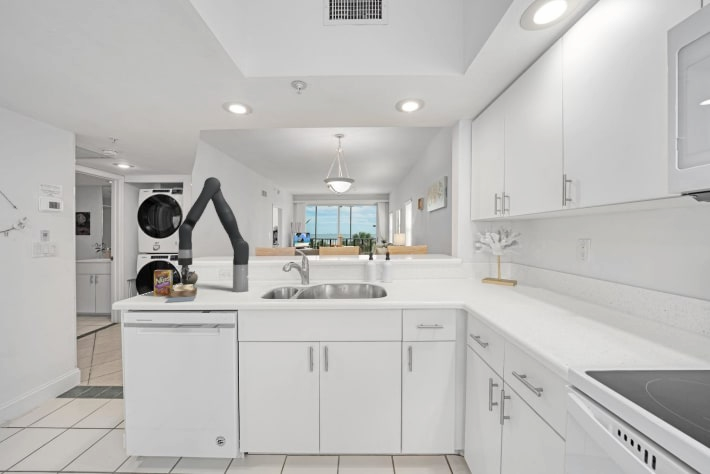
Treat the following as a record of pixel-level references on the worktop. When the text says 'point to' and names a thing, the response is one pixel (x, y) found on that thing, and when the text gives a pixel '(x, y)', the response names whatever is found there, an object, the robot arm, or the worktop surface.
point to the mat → (180, 299)
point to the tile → (183, 287)
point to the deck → (184, 293)
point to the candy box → (163, 282)
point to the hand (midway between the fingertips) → (185, 285)
